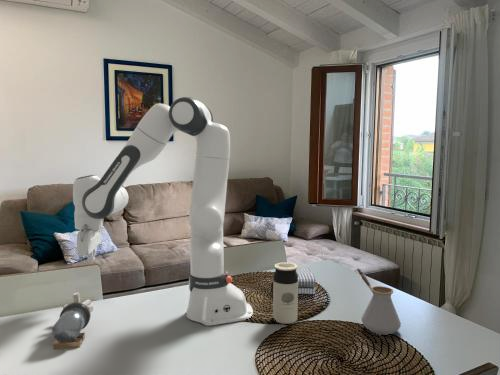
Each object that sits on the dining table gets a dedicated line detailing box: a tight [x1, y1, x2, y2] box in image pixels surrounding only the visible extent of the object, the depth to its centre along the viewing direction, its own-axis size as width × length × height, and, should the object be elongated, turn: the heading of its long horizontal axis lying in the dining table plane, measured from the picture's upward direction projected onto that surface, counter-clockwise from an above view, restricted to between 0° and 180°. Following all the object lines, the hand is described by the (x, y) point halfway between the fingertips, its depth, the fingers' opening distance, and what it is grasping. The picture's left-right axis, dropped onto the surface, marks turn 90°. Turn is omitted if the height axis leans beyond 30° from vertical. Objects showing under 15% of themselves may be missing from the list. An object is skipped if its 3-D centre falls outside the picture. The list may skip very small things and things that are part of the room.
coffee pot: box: [354, 268, 402, 336], centre depth 124 cm, size 21×12×15 cm, turn 13°
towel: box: [296, 267, 317, 295], centre depth 156 cm, size 15×18×8 cm
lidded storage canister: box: [51, 302, 92, 350], centre depth 112 cm, size 10×8×9 cm
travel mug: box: [272, 262, 299, 325], centre depth 126 cm, size 8×8×18 cm
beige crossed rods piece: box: [62, 292, 94, 313], centre depth 122 cm, size 10×10×10 cm
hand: (91, 261), depth 135 cm, fingers closed
